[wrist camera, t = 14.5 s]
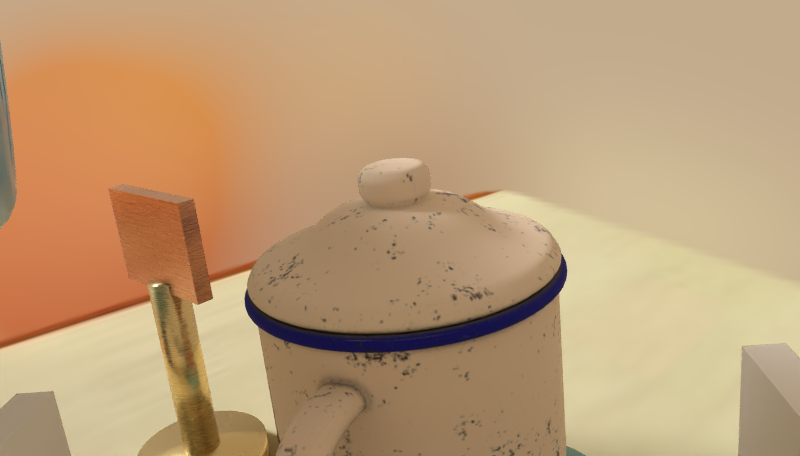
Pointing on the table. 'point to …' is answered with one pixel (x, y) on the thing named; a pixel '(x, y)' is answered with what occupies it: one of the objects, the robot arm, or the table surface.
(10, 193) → the robot arm
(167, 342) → the brass tag sign
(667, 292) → the table surface
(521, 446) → the teacup with lid
